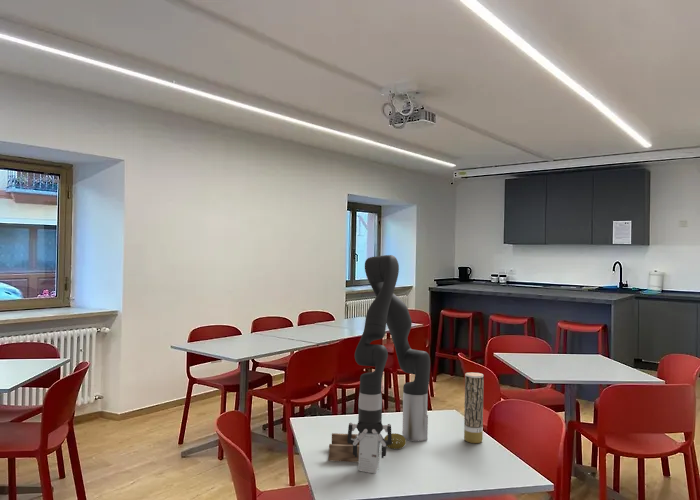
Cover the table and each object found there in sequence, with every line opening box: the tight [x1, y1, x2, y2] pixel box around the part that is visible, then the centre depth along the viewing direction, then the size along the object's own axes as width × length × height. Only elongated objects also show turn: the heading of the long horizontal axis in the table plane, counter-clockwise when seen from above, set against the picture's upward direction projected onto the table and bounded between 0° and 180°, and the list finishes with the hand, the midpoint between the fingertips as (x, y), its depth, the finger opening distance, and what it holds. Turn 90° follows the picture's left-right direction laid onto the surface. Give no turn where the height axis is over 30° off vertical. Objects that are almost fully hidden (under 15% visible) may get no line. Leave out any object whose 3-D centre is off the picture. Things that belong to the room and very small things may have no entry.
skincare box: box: [357, 433, 381, 474], centre depth 169 cm, size 6×4×12 cm
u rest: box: [328, 432, 359, 463], centre depth 181 cm, size 13×12×5 cm
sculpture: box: [383, 432, 407, 450], centre depth 190 cm, size 8×4×8 cm
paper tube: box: [463, 372, 485, 444], centre depth 198 cm, size 7×7×25 cm
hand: (369, 456), depth 169 cm, fingers open, 8 cm apart
